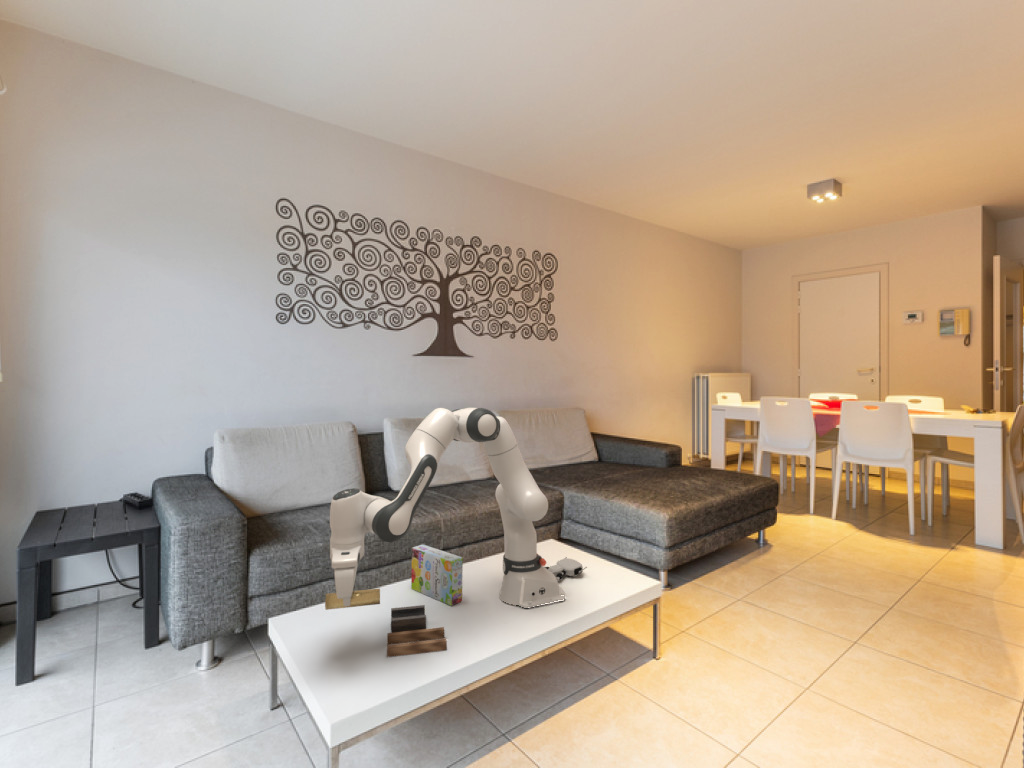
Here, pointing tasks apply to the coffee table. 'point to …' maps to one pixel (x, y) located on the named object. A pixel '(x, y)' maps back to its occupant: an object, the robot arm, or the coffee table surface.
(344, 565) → the robot arm
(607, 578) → the coffee table surface
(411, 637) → the copper channel
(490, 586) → the coffee table surface
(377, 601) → the brass rod
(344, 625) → the coffee table surface
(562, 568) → the robot toy
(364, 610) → the coffee table surface
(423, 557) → the snack box
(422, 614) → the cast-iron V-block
